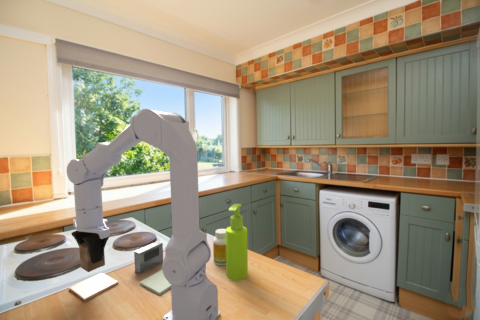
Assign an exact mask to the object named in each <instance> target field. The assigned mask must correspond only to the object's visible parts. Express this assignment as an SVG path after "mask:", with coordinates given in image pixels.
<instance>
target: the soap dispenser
mask: <svg viewBox="0 0 480 320" xmlns="http://www.w3.org/2000/svg"><path fill="white" fill-rule="evenodd" d="M241 207H242V204H241V203H234V204H232V205H231V206H230V207H229V208H228V212H233V214H232V215H230V226H227V227H226V228H225V229H226V265H225V266H226V268H225V270H226V272H225V273H226V277H227V278H228V279H229V280H231V281H237V282H239V281H243V280H245V279H246V278H247V277H248V273H249V272H248V266H249V265H248V262H249V261H248V260H249V259H248V227H247V226H244V217H243V215H241V214H240V213H241V210H240V208H241Z"/></svg>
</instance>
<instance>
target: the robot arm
mask: <svg viewBox="0 0 480 320" xmlns="http://www.w3.org/2000/svg"><path fill="white" fill-rule="evenodd" d="M142 142H144V143H145V144H148V145H150V146H152V147H154V148H157V149H159V150H160V151H161V152H163V153H164V154H165V155H166V156H167V157H168V158H169V178H170V183H169V185H170V201H171V202H170V204H171V207H170V208H171V226H172V227H171V229H172V234H171V237H170V238H169V240H168V242H167V244H166V246H165V249H164V250H165V251H164V252H165V255H164V258H163V262H162V266H161V270H163V274H164V276H165V278H166V280H167V281H168V282H169V284H171V288H170V292H171V294H170V295H171V299H170V300H171V310H170V311H168V312H167V313H166V314H165V315H164V316H163V317H162V320H216V319H218V318H219V316H221V311H220V310H219V298H218V297H219V295H218V294H219V293H218V292H219V290H218V287H217V285H216V284H215V283H213V282H212V281H211V280H210V279H209V278H208V276H207V274H206V273H207V271H206V270H207V264H208V263H209V261H210V260H211V256H212V251H211V247H210V245H209V242H208V238H207V235H208V234H207V233H205V232H204V231H202V230H201V227H200V202H199V201H200V197H199V166H198V147H197V143H196V141H195V139H194V137H193V135H192V133H191V131H190V122H189V121H188V120H187V119H186V118H184V117H183V116H182V115H181V114H179V113H177V112H165V111H159V110H155V109H154V110H153V109H150V108H143V109H141V110H139V111H138V112H137V113H136V114H134V115H133V116H131V118H130V122H129V124H128V125H127V126H126V127H125V128H124V129H123V130H122V131H120V133H119V134H118V135H116V137H115V138H113V139H112V140H111V141H110V142H106V141H105V142H97V143H96V144H95V147H94V148H93V149H92V150H91V151H90V152H88V153H86V154H85V153H84V154H85V155H84V156H83V157H82V158H80V159H78V158H76V159H75V158H74V159H71V160H70V161H69V162H68V164H67V166H66V175H67V178H68V181H70V183H72V184H73V194H74V208H75V219H72V226H73V228H75V231H73V232H71V236H72V237H73V239H75V241H76V243H77V245H78V246H79V244H82V243H86V245H87V247H88V250H89V254H90V259H91V261H92V263H93V264H94V263H96V262H99V261H101V260H102V257H103V252H104V253H105V248H106V245H107V242H108V240H109V238H110V237H111V230H110V228H109V227H107V223H109V222H108V221H109V220H108V219H106V218H104V211H103V196H102V195H103V193H102V187H103V186H104V179H105V177H106V175H107V172H108V171H109V170H111V169H112V168H113V167H115V166H116V165H117V164H119V163H120V162H121V161H122V154H124V153H126V152H127V151H130V150H131V149H132V148H133V147H135V146H137V145H139V143H142Z"/></svg>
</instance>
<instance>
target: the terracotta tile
mask: <svg viewBox="0 0 480 320" xmlns="http://www.w3.org/2000/svg"><path fill="white" fill-rule="evenodd" d="M118 284H119V281H118V280H116V279H115V278H112V277H111V276H109V275H107V274H105V273H103V272H100V273H98V274H96V275H93V276H91V277H89V278H86V279H85V280H82V281H80V282H78V283H75V284H74V285H72V286H69V290H70V291H71V292H72V293H73V294H75V295H76V296H77V297H79V298H80V299H81V300H83V301H84V302H86V301H88V300H90V299H92V298H93V297H95V296H97V295H99V294H101V293H103V292H105V291H107V290H109V289H111V288H113V287H115V286H116V285H118Z"/></svg>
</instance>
